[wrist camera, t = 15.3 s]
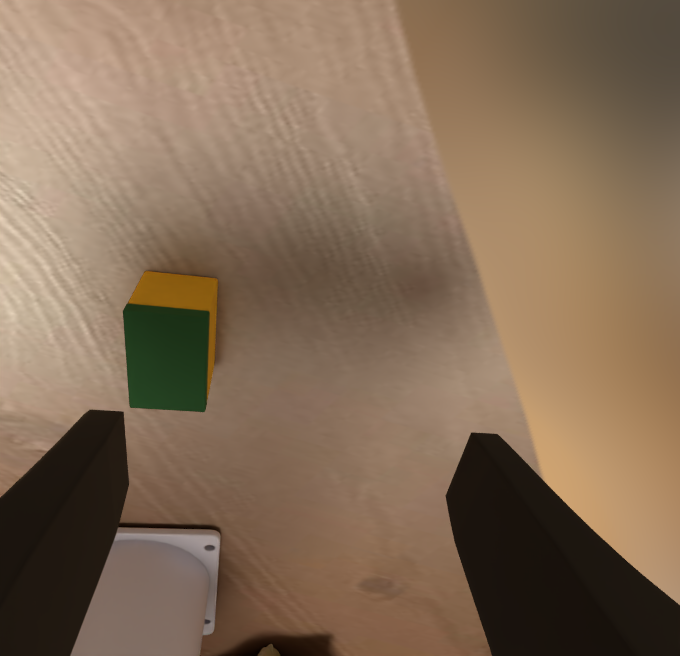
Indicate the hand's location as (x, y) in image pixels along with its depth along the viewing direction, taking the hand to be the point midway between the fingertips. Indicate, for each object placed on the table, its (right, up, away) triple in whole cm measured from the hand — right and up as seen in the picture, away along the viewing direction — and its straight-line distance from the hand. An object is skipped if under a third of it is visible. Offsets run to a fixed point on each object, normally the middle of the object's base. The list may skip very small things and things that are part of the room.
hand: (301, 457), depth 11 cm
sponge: (-5, +3, +9) cm, 11 cm away
